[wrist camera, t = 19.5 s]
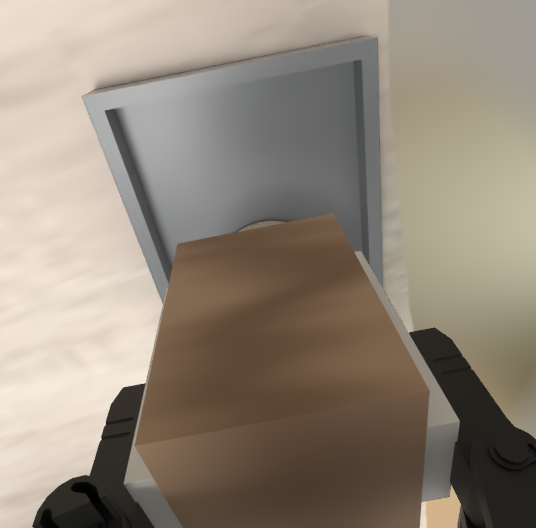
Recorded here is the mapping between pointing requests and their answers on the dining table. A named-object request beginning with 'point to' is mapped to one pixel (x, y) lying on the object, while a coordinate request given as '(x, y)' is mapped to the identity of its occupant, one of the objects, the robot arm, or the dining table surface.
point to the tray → (247, 148)
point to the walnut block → (282, 388)
